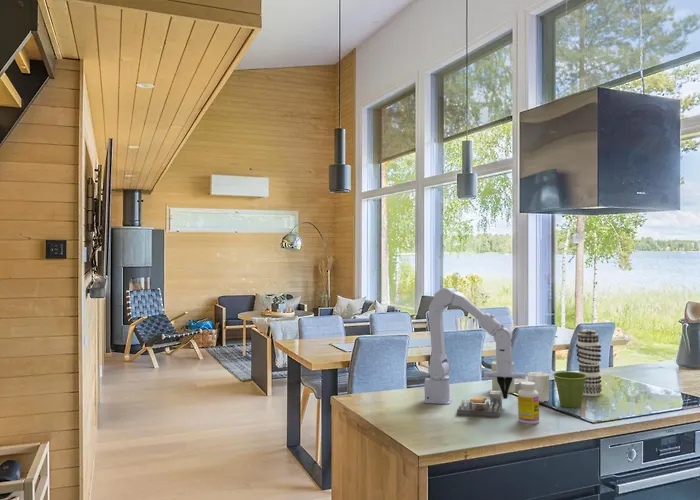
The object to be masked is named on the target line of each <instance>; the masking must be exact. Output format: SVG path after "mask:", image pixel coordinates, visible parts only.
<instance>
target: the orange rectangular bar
mask: <svg viewBox="0 0 700 500" xmlns="http://www.w3.org/2000/svg"><path fill="white" fill-rule="evenodd" d="M487 400H488V397H487V396H474V397H472V398H470V400H469V401H470V402H472V404H486V401H487Z"/></svg>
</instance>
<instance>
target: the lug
mask: <svg viewBox="0 0 700 500" xmlns="http://www.w3.org/2000/svg"><path fill="white" fill-rule="evenodd" d="M489 399H490V400H489V404H490V405H491V403H492V401H493V402H494V405H495V404H496V402H498V405H500V407H501V408H503V394H502V391H492V390H490V392H489Z"/></svg>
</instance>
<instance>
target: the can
mask: <svg viewBox="0 0 700 500" xmlns="http://www.w3.org/2000/svg"><path fill="white" fill-rule="evenodd" d="M490 364H491V372H492V371H496V360H493V361H491V363H490ZM512 369H513V372H515V362H514V361H512ZM491 384H492V387H491V391H501V388H500V386H499V384H498V382H497V378H491ZM515 387H516V386H515V379H514V378H512V382H511V384H510V387H509V390H508V394H513V393H515V392H516V388H515ZM512 392H513V393H512Z"/></svg>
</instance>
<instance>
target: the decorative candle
mask: <svg viewBox="0 0 700 500" xmlns="http://www.w3.org/2000/svg"><path fill="white" fill-rule="evenodd" d="M576 334H577V342H576V344H575V348H577V349H575V350H576V356H577V359H576V360H577V364H578V373H583V374H586V375H587V378H586V380H585V384H584V390H583V396H585V397H586V396H587V397H588V396H589V397H599V396H602V395H603V394H602V393H603V392H602V391H603V389H602V384H601V383H602V380H601V379H602V376H601V371H600V368H601V367H600V366H601V364H602V363H601V361H602V359H601V357H602V355H601V354H600V353H601V352H602V349H601V348H602V345H600V341H599V338H600V337H599V333H598V331H596V330H595V329H585V328H584V329H580V330H579V331H578V332H577V333H576Z"/></svg>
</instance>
